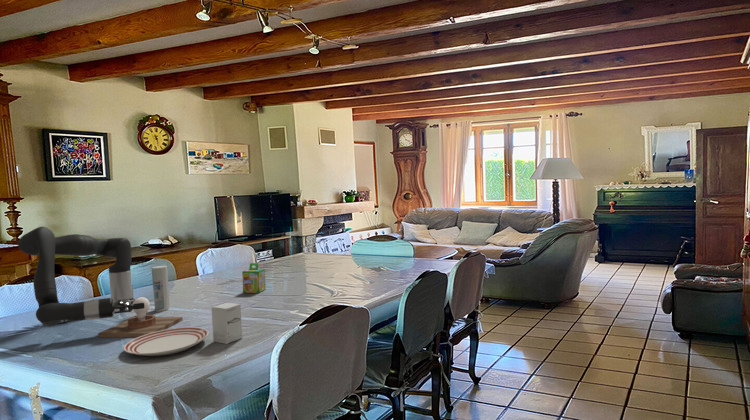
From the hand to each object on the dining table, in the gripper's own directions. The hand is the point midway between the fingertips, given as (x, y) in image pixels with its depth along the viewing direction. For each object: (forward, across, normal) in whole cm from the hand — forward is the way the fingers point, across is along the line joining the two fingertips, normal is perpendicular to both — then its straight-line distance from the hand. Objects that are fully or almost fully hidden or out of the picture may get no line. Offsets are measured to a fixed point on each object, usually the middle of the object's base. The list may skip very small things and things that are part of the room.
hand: (144, 303), depth 194 cm
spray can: (+5, +30, +10) cm, 32 cm away
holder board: (-2, 0, +10) cm, 10 cm away
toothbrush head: (-38, +40, +10) cm, 57 cm away
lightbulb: (-2, 0, +9) cm, 9 cm away
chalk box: (+50, +44, +10) cm, 67 cm away
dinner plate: (+8, -31, +10) cm, 34 cm away
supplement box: (+28, -34, +10) cm, 46 cm away
